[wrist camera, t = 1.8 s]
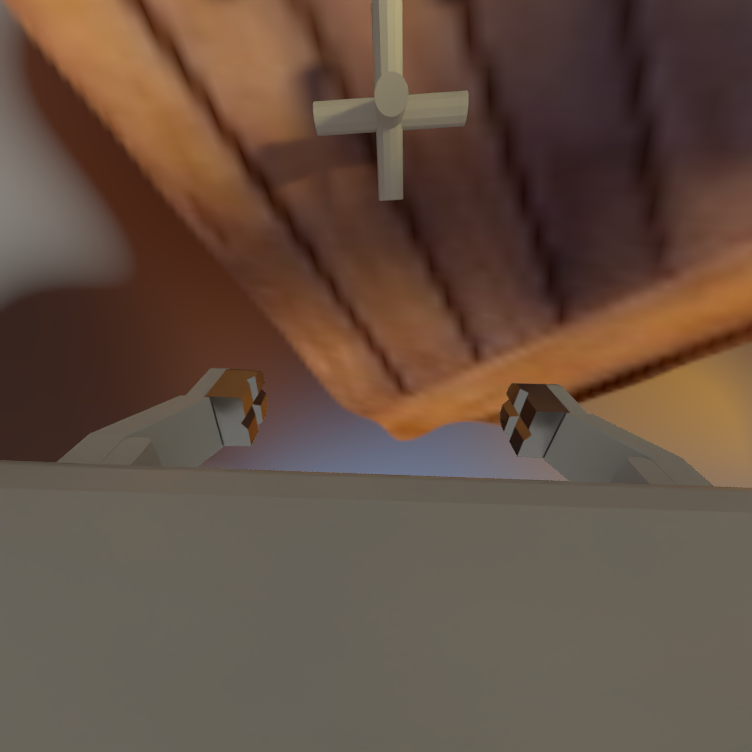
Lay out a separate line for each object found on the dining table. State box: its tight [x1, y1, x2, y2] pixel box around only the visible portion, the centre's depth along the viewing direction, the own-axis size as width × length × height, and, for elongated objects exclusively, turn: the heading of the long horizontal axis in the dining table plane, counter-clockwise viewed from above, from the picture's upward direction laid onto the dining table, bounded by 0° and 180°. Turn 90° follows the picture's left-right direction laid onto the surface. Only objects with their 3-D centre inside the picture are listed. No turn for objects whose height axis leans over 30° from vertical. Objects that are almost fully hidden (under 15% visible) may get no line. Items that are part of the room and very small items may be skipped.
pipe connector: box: [313, 0, 469, 201], centre depth 21 cm, size 10×10×10 cm
